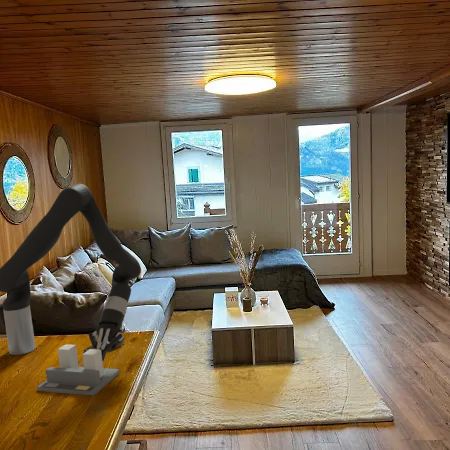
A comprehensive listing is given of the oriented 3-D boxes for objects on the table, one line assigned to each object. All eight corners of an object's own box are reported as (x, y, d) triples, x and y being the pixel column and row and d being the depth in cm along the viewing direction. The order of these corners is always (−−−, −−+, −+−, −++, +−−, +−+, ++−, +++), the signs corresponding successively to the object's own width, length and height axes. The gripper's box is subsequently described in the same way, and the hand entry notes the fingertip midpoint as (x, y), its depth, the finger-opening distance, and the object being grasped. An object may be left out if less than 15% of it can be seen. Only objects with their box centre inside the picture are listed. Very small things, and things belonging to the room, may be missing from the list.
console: (67, 369, 153) (65, 354, 153) (119, 372, 147) (118, 357, 147) (37, 390, 139) (35, 374, 138) (93, 395, 133) (91, 379, 132)
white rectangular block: (68, 368, 150) (65, 344, 149) (78, 369, 149) (75, 344, 148) (60, 374, 146) (57, 349, 145) (71, 374, 145) (68, 349, 144)
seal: (86, 360, 163) (127, 349, 169) (85, 348, 162) (126, 338, 168) (82, 349, 171) (121, 339, 178) (81, 337, 170) (120, 328, 177)
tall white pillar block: (92, 374, 144) (90, 349, 143) (103, 374, 143) (101, 349, 142) (85, 379, 140) (82, 354, 139) (96, 380, 139) (93, 354, 138)
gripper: (91, 307, 153) (74, 356, 143) (126, 307, 149) (111, 359, 139) (102, 317, 158) (85, 365, 148) (135, 317, 155) (121, 367, 144)
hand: (98, 362), depth 144 cm, fingers closed
